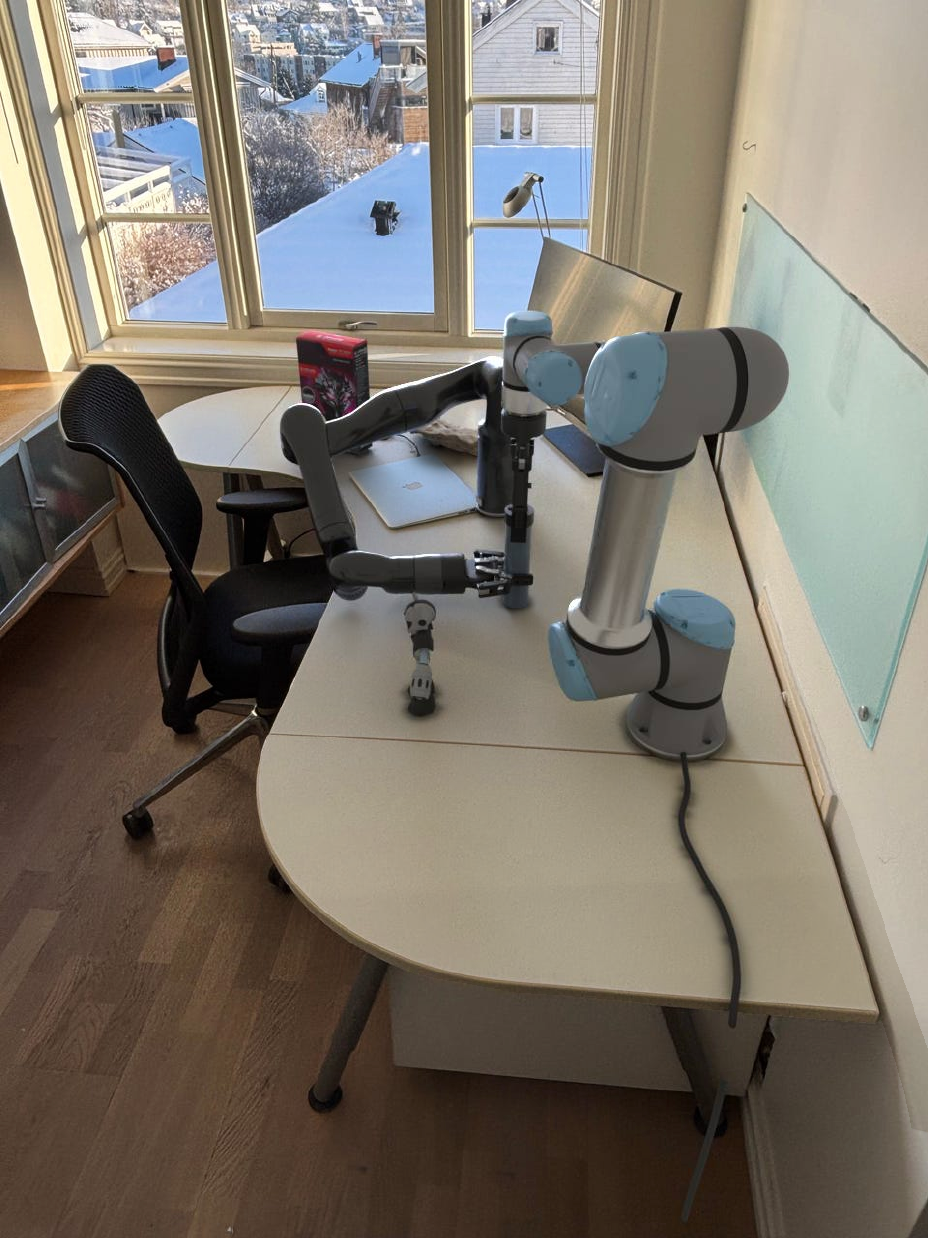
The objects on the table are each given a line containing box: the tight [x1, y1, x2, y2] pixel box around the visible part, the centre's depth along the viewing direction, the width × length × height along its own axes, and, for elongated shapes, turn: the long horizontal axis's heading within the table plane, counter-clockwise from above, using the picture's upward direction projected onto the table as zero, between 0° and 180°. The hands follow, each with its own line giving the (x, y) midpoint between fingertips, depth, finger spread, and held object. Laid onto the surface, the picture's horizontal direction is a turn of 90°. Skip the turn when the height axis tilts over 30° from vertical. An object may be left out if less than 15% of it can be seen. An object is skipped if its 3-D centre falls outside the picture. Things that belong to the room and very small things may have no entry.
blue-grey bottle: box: [502, 523, 533, 610], centre depth 168 cm, size 5×5×19 cm
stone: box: [409, 416, 478, 457], centre depth 232 cm, size 21×15×6 cm
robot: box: [403, 589, 437, 717], centre depth 143 cm, size 20×5×20 cm, turn 3°
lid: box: [503, 504, 535, 527], centre depth 163 cm, size 5×5×2 cm
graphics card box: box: [295, 329, 374, 455], centre depth 226 cm, size 17×7×27 cm, turn 62°
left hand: (530, 571), depth 170 cm, fingers closed on blue-grey bottle, 4 cm apart
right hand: (518, 531), depth 165 cm, fingers open, 6 cm apart
